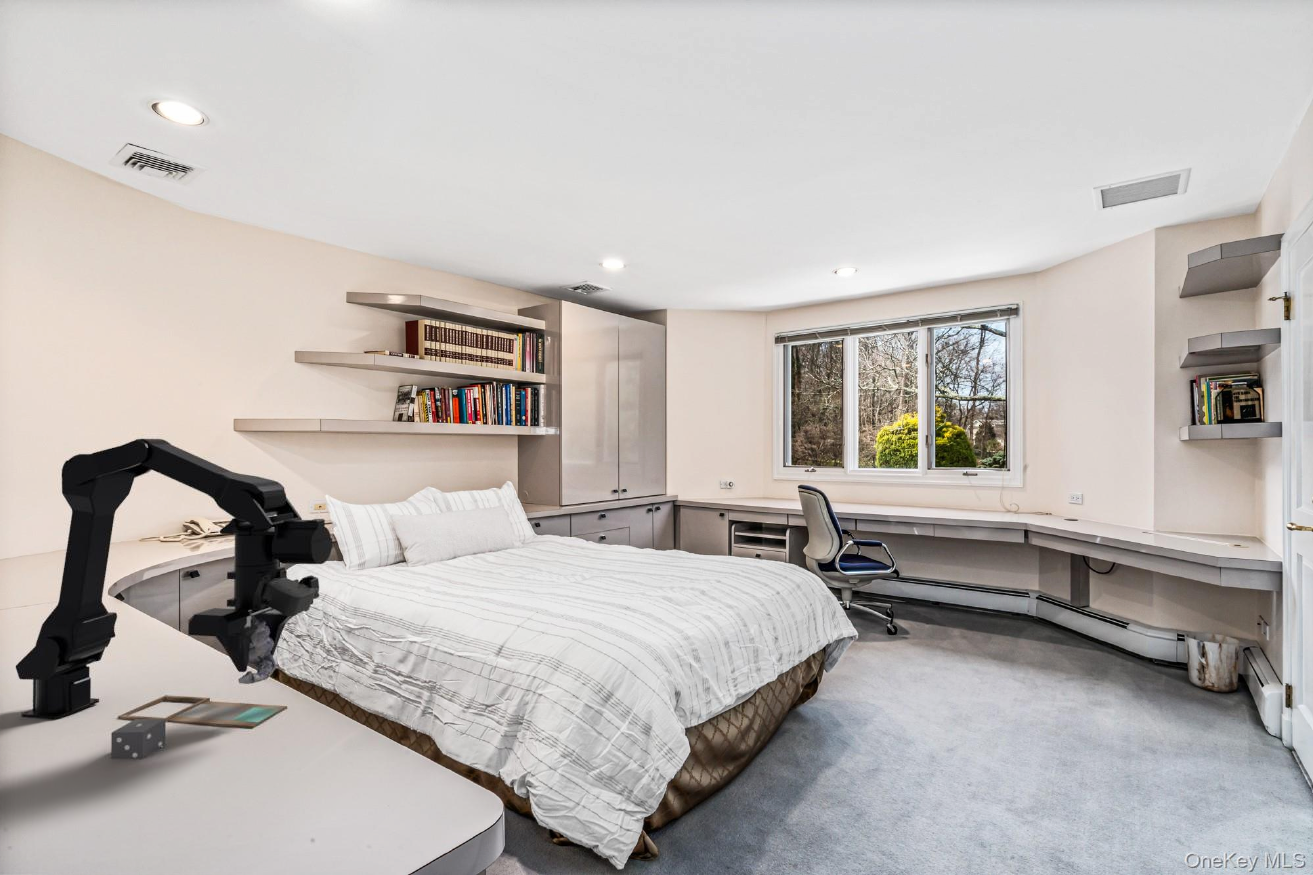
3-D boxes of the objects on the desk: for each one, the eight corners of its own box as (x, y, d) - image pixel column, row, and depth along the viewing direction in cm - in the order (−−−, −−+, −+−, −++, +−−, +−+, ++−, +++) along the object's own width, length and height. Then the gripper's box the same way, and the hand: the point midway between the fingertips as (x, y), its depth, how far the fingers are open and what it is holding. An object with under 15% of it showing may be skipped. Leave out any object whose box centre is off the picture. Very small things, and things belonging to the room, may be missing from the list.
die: (109, 764, 82) (110, 731, 82) (135, 748, 87) (135, 717, 87) (143, 763, 82) (143, 731, 83) (166, 747, 87) (167, 717, 87)
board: (163, 721, 94) (163, 719, 94) (202, 702, 101) (202, 700, 101) (253, 727, 92) (253, 725, 92) (287, 708, 99) (287, 706, 99)
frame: (117, 720, 95) (117, 716, 95) (165, 698, 103) (165, 695, 103) (165, 723, 94) (165, 719, 94) (209, 701, 102) (209, 697, 102)
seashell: (255, 690, 93) (256, 622, 93) (224, 687, 94) (225, 619, 94) (283, 677, 98) (284, 612, 98) (254, 674, 99) (255, 610, 100)
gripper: (258, 578, 86) (256, 693, 86) (343, 554, 105) (342, 648, 105) (185, 575, 88) (183, 688, 88) (282, 551, 106) (281, 645, 106)
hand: (255, 665), depth 96 cm, fingers closed on seashell, 5 cm apart
